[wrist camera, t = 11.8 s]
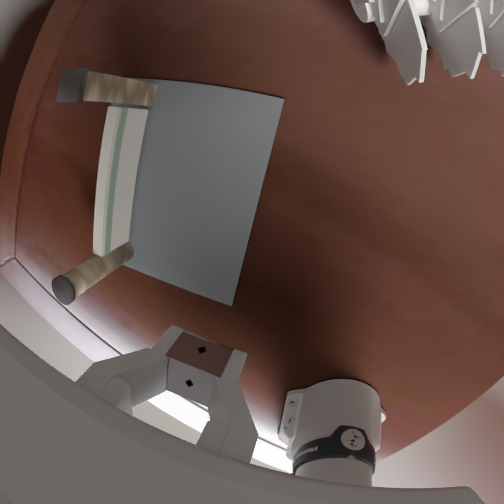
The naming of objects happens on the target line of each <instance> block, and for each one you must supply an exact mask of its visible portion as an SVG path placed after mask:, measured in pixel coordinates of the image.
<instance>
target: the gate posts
mask: <svg viewBox="0 0 504 504" xmlns="http://www.w3.org/2000/svg"><path fill="white" fill-rule="evenodd" d="M157 87H158V85H156V84H152V83H147V82H143V81H139V80H134V79H129V78H124V77H119V76H114V75H109V74H103V73H97V72H91V71H89V69H87V68H76V69H65V70H62V72H61V77H60V81H59V86H58V92H57V97H56V102H75V103H82V101H98V102H113V103H125V104H135V105H145V106H153V105H154V101H155V96H156V92H157ZM133 255H134V249H133V247H132V245H131V244H130V243H129V242H126V243H124V244H123V245H121V246H119V247H117V248H116V249H114V250H112V251H111V252H110V253H108V254H107V255H104V256H102V257H101V256H99V255H95V256H93V257H92V258H90V259H88V260H87V261H85V262H83V263H81V264H80V265H78V266H76V267H75V268H73V269H72V270H70V271H68V272H67V273H65V274H63V275H59V276H57V277H55V278H54V279H53V280H52V289H53V292H54V294H55V296H56V297H57V299H58V300H59V301H60V302H61V303H63V304H65V305H69V304H70V303H72V302H73V301H74V300H75V298H76V297H77V296H78V295H80V294H81V293H83V292H84V291H85V290H87V289H88V288H90V287H91V286H92V285H94V284H95V283H97V282H98V281H99V280H101V279H102V278H104V277H105V276H107V275H108V274H110V273H111V272H112V271H114V270H115V269H117V268H118V267H120V266H121V265H123V264H124V263H126V262H127V261H129V260H130V259H131V258H132V257H133Z"/></svg>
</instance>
